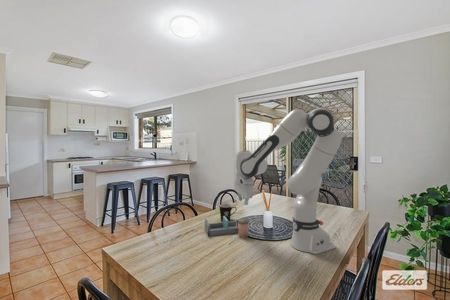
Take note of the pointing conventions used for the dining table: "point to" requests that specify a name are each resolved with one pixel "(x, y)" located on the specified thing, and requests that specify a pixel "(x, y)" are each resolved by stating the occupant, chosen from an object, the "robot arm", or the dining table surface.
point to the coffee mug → (226, 211)
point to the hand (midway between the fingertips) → (242, 202)
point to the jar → (243, 227)
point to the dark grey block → (220, 228)
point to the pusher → (225, 222)
